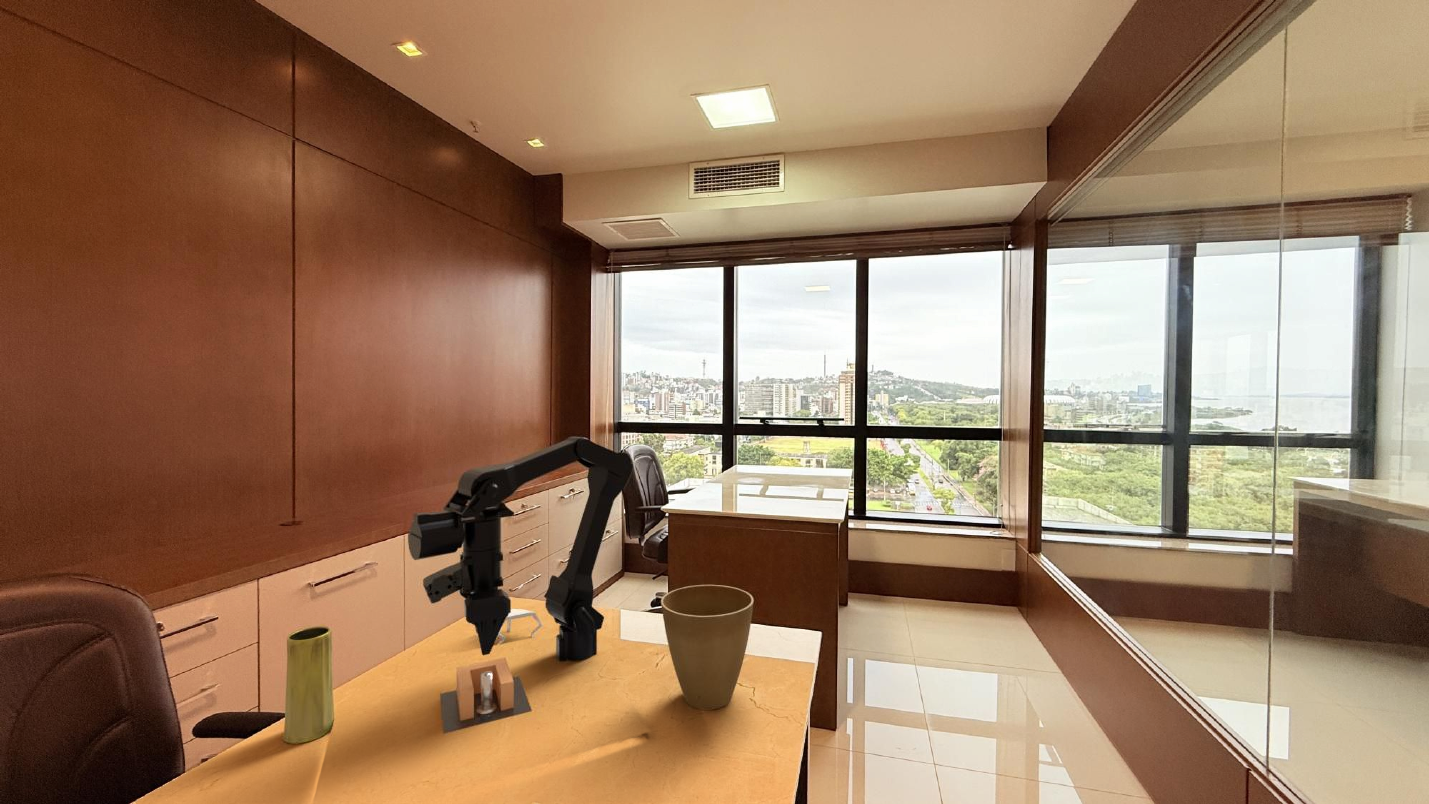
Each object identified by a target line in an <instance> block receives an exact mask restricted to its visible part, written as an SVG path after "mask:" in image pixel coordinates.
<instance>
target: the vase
mask: <svg viewBox="0 0 1429 804" xmlns="http://www.w3.org/2000/svg"><path fill="white" fill-rule="evenodd" d="M332 635H333V631H332V628H331V627H329V626H325V625H323V626H322V625H317V626H316V625H315V626H311V627H305V628H301V629H299V630H296V631H293V632H291V633H290V634H288V635H287V637H286V680H285V681H286V682H285V683H286V684H285V685H286V686H285V687H286V688H285V702H284V703H285V707H284V708H285V709H284V711H285V712H284V727H283V735H282V740H283V741H284V742H285V743H287V744H293V745H294V744H295V745H297V744H298V745H299V744H305V743H309V742H312V741H315V740H317V739H319V738H321V737H323V736H325V735H326V734H329V732H330V731H332V729H333V727H334V722H335V707H334V706H335V705H334V691H333V690H334V689H333V661H332V660H333V658H332V657H333V653H332V652H333V648H332V647H333V645H332V643H333V636H332Z"/></svg>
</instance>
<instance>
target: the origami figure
mask: <svg viewBox="0 0 1429 804" xmlns="http://www.w3.org/2000/svg"><path fill="white" fill-rule="evenodd" d="M527 617H532V618H534V620H535V621H536V623H538V626H537V627H535V628H534V629H533V630H532V631H531V632H530V635H531V636H530V637H531V638H532V639H533V638H535V632H536V631H537V630H539V629H540V628H542V627H543V626H544V624H543V622H541V620H540V619H539V617H538V616H537V615H536V613H535V612H534V611H531V610H527V609H522V608H521V609H519V608H511V613H509V614H508V616H507V617H506V619H505V621H504V623H503V625H502V627H501V629H500V632H501V630H502V628H503V626H504V624H505V622H506V621H507V627H506V628H507V629H506V632H509V633H510V632H511V625H512V620H516V619H522V618H527ZM500 632H499V634H498V636H497V638H499V639H500V640H499V642H498V643H497V644H496V646H499V645H502V644H503V642H504V641H505V640H506V639H507V638H506V636H504V635H503V634H502V633H500Z"/></svg>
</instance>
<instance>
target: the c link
mask: <svg viewBox="0 0 1429 804" xmlns="http://www.w3.org/2000/svg"><path fill="white" fill-rule="evenodd" d="M485 671H492V690H496V694H497V698H498V701H499V705H500V708H501V711H502V710H506V709H510V708H514V681H513V675H512V673H511V669H510V667H509V664H508V662H507V658H506V657H501V658H496V659H491V660H487V661H481V662H476V663H473V664H467V665H463V666H458V667H456V690H457V700H458V707H459V714H460V721H462V720H466V719H470V718H474V694H478V693H481V673H483V672H485Z"/></svg>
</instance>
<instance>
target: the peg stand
mask: <svg viewBox="0 0 1429 804" xmlns="http://www.w3.org/2000/svg"><path fill="white" fill-rule="evenodd" d="M512 678H513V681H514V708H510V709H506V710H502V711H501V708H500V705H499V701H498V698H497V694H496V690H492V671H485V672H483V673H481V693H478V694H474V718H470V719H466V720H462V721H460V714H459V707H458V700H457V689H455V690H451V691H447V692H442V693H440V703H441V704H440V705H441V707H440V708H441V717H442V729H443V730H442V731H443V734H447V733H450V732H451V733H452V732H455V731H459V730H462V729H463V730H464V729H467V728H470V727H475V726H478V725H483V724H487V723H490V722H491V723H492V722H495V721H498V720H502V719H506V718H511V717H514V716H518V715H521V714H525V713H529V712H532V711H533V710H532V708H531V707H532V706H531V705H530V702H529V699H528V696H527V694H526V691H525V688H524V686H523V684H522V680H521V678H520V676H519V675H518V676H514V677H513V676H512Z"/></svg>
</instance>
